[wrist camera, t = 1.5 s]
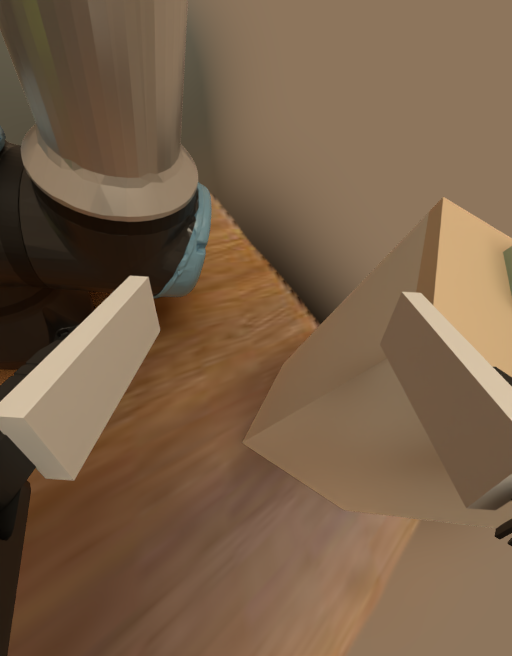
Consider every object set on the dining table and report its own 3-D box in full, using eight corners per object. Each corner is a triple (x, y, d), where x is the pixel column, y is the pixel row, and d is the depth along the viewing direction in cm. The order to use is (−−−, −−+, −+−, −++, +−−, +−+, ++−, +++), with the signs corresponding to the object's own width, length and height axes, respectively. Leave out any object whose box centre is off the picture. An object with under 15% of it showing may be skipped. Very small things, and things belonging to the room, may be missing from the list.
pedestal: (283, 363, 43) (443, 196, 18) (366, 417, 42) (644, 318, 18) (241, 442, 35) (430, 332, 10) (344, 510, 34) (801, 564, 10)
